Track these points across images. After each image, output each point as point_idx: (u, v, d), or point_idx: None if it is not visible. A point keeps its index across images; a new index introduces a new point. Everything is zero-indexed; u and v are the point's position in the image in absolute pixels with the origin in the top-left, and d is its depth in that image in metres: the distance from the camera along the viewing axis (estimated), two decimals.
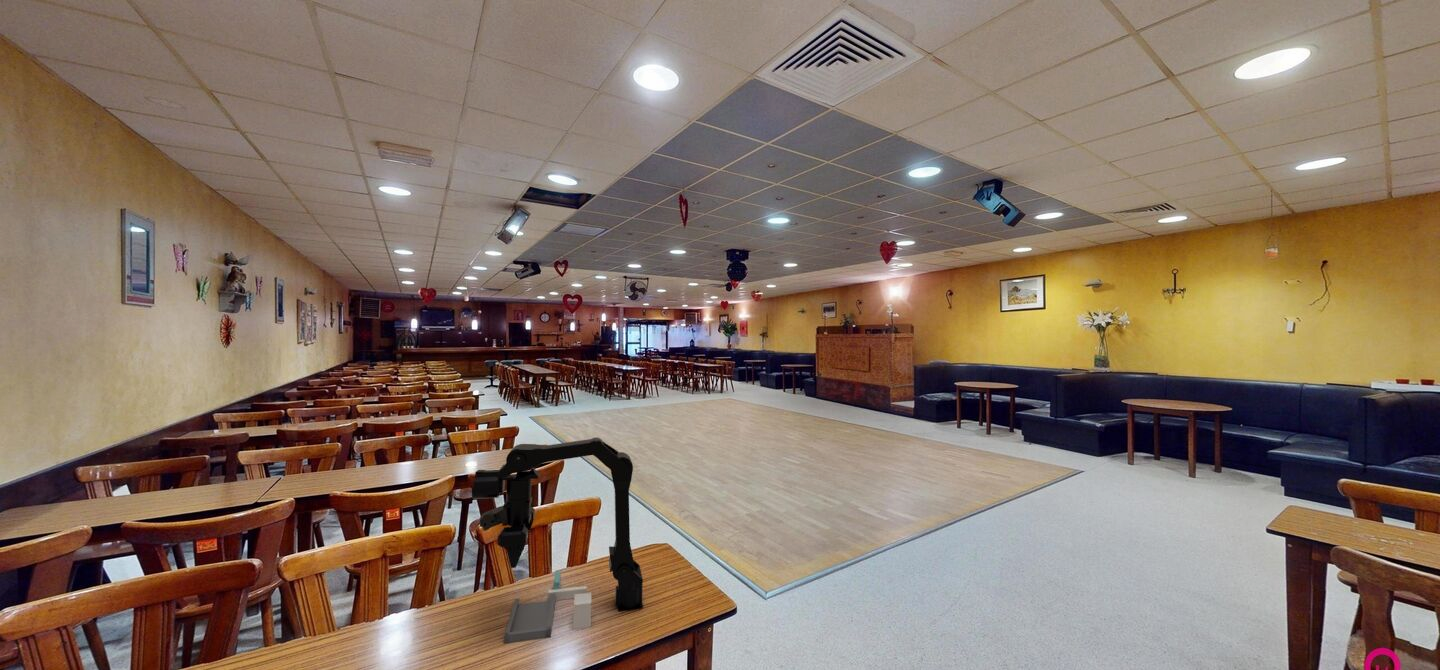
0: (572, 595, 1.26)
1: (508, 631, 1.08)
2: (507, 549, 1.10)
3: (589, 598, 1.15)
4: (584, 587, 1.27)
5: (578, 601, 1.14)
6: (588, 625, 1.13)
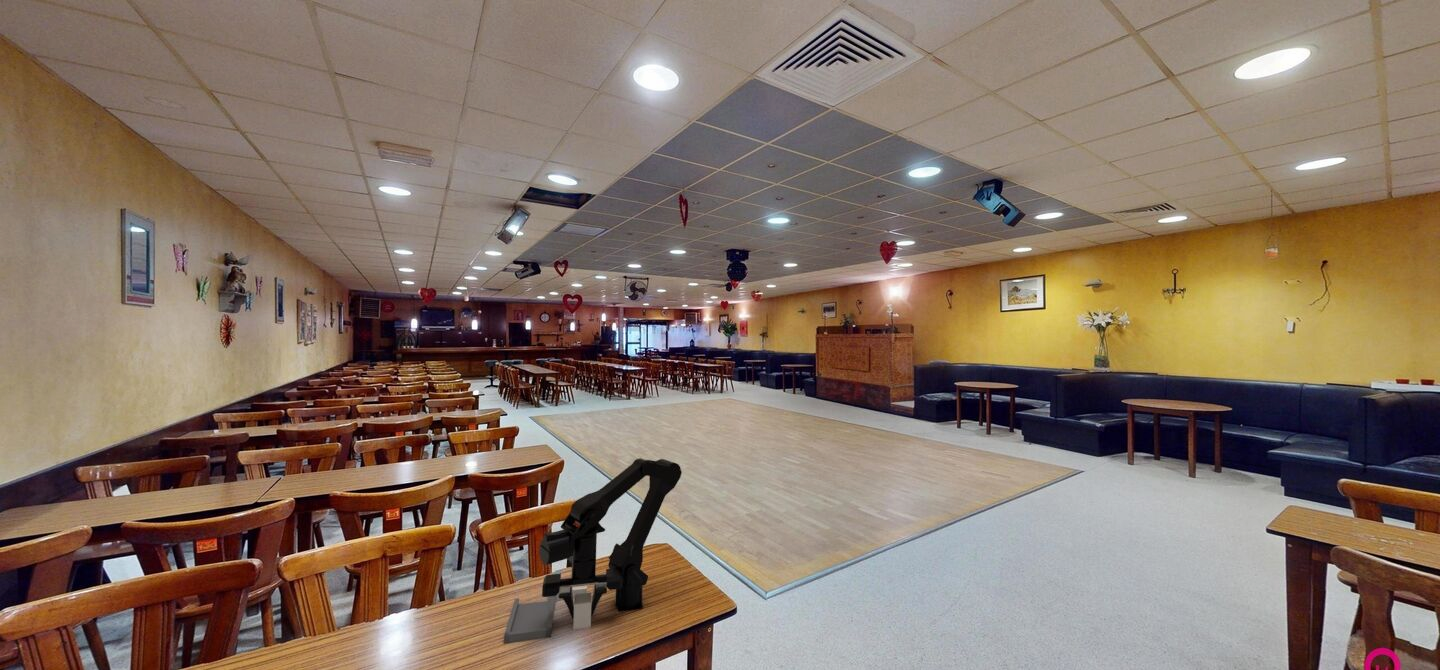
0: None
1: (508, 631, 1.08)
2: None
3: (589, 598, 1.15)
4: (584, 587, 1.27)
5: (578, 601, 1.14)
6: (588, 625, 1.13)
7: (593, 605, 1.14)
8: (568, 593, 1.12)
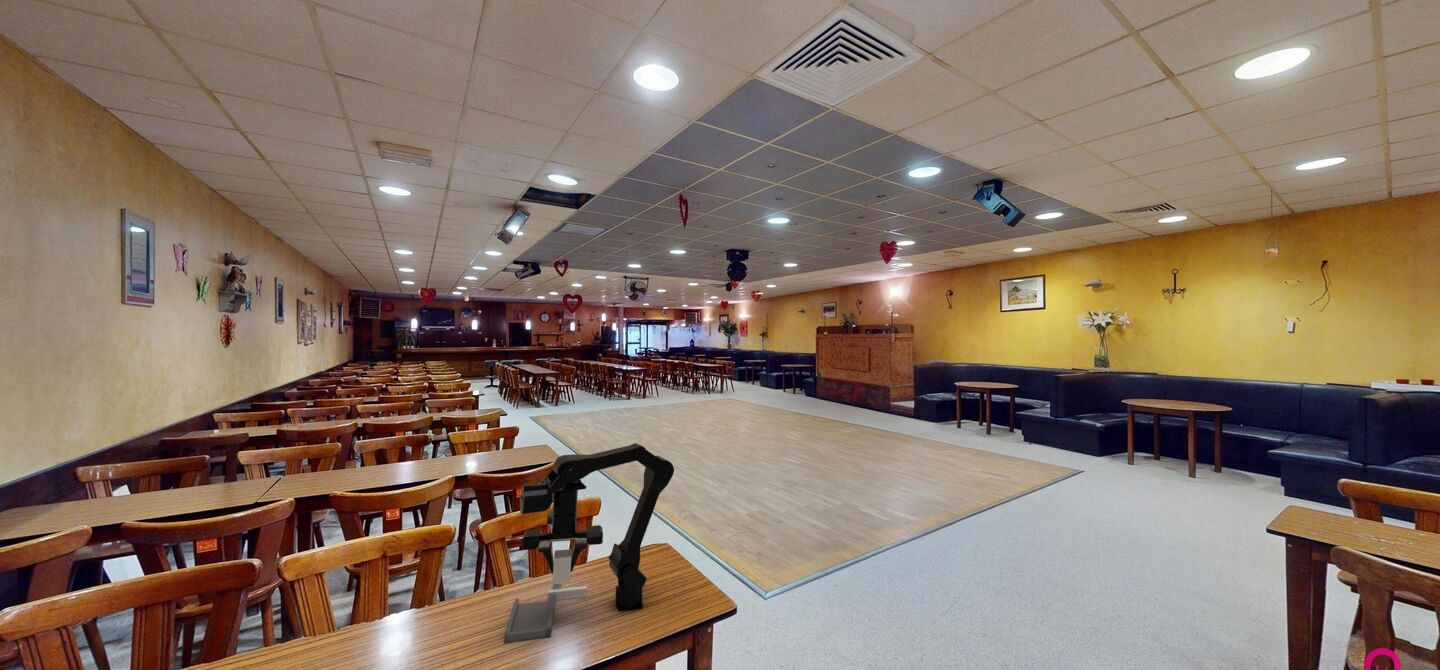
0: (572, 595, 1.26)
1: (508, 631, 1.08)
2: None
3: (569, 553, 1.15)
4: (584, 587, 1.27)
5: (557, 556, 1.14)
6: (568, 579, 1.13)
7: (573, 560, 1.14)
8: (548, 547, 1.12)
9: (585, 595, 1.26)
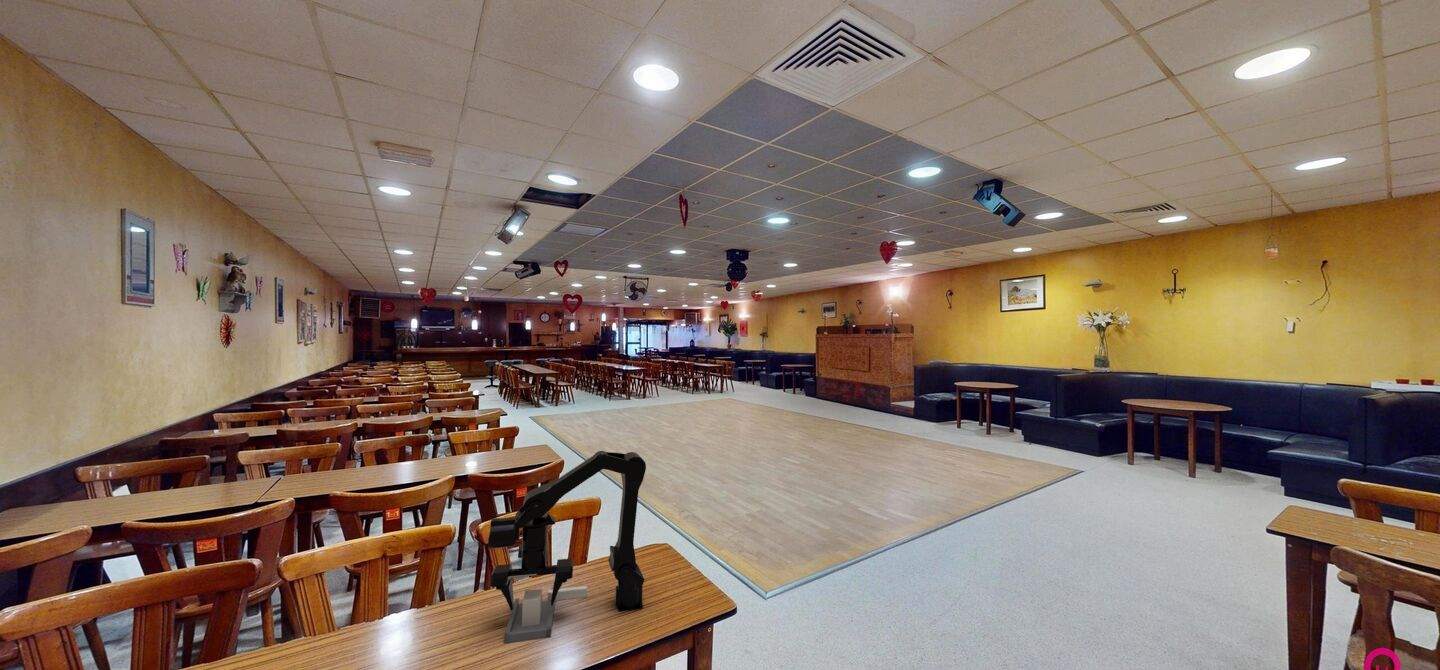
0: (572, 595, 1.26)
1: (508, 631, 1.08)
2: None
3: (539, 594, 1.15)
4: (584, 587, 1.27)
5: (527, 597, 1.14)
6: (537, 621, 1.13)
7: (553, 594, 1.15)
8: (506, 584, 1.12)
9: (585, 595, 1.26)
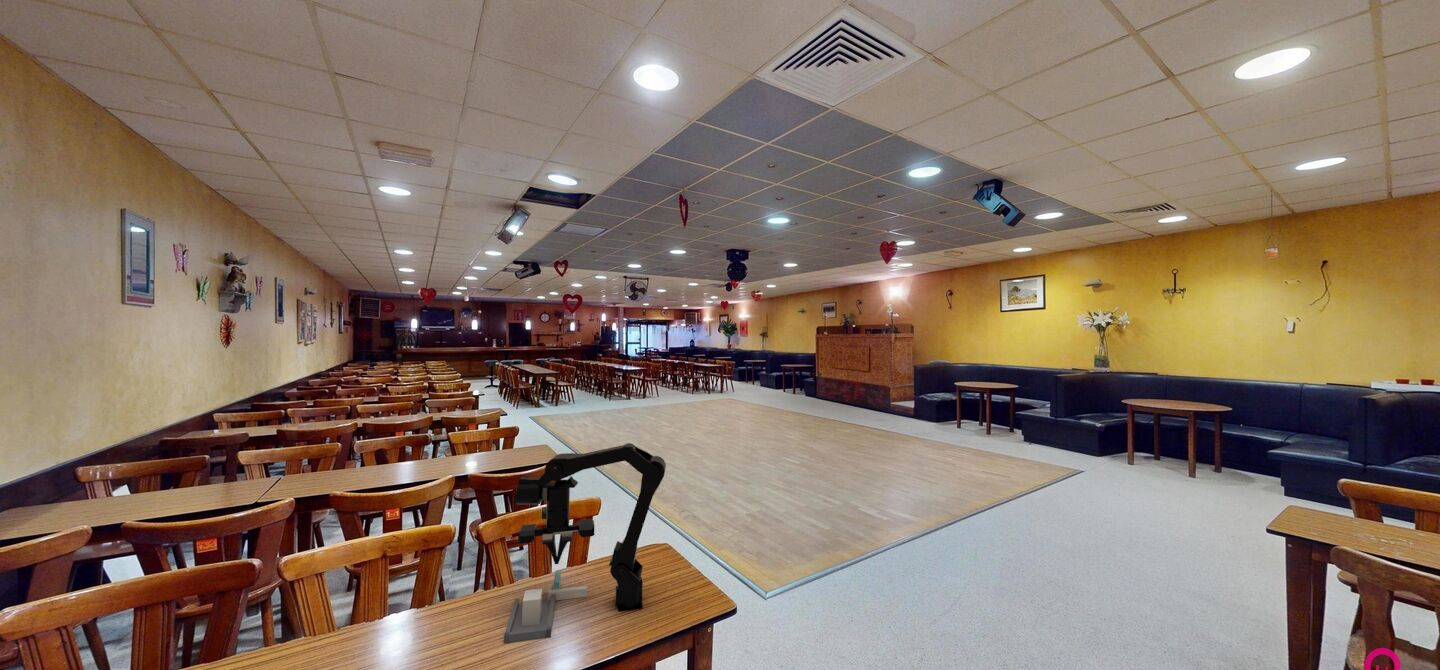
0: (572, 595, 1.26)
1: (508, 631, 1.08)
2: None
3: (539, 594, 1.15)
4: (584, 587, 1.27)
5: (527, 597, 1.14)
6: (537, 621, 1.13)
7: (559, 553, 1.21)
8: (551, 539, 1.21)
9: (585, 595, 1.26)
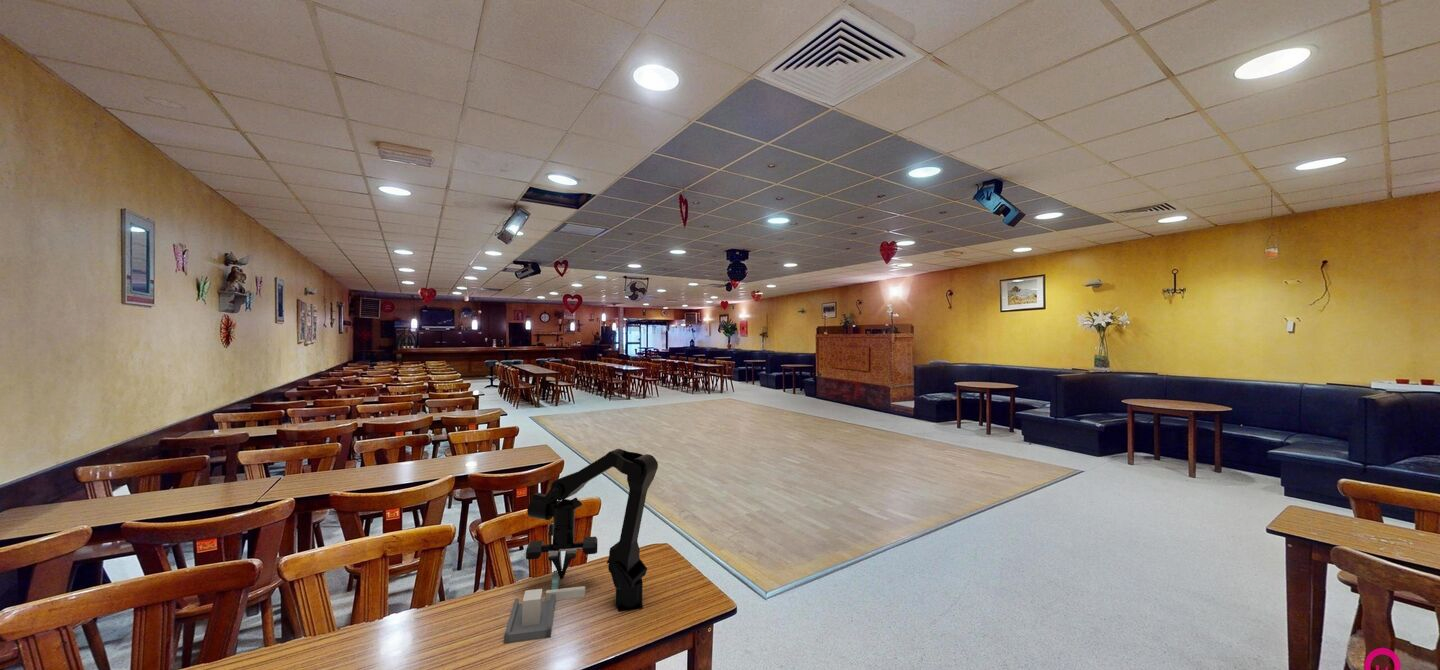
0: (570, 595, 1.25)
1: (508, 631, 1.08)
2: None
3: (539, 594, 1.15)
4: (582, 587, 1.27)
5: (527, 597, 1.14)
6: (537, 621, 1.13)
7: (563, 569, 1.29)
8: (556, 556, 1.28)
9: (583, 595, 1.26)
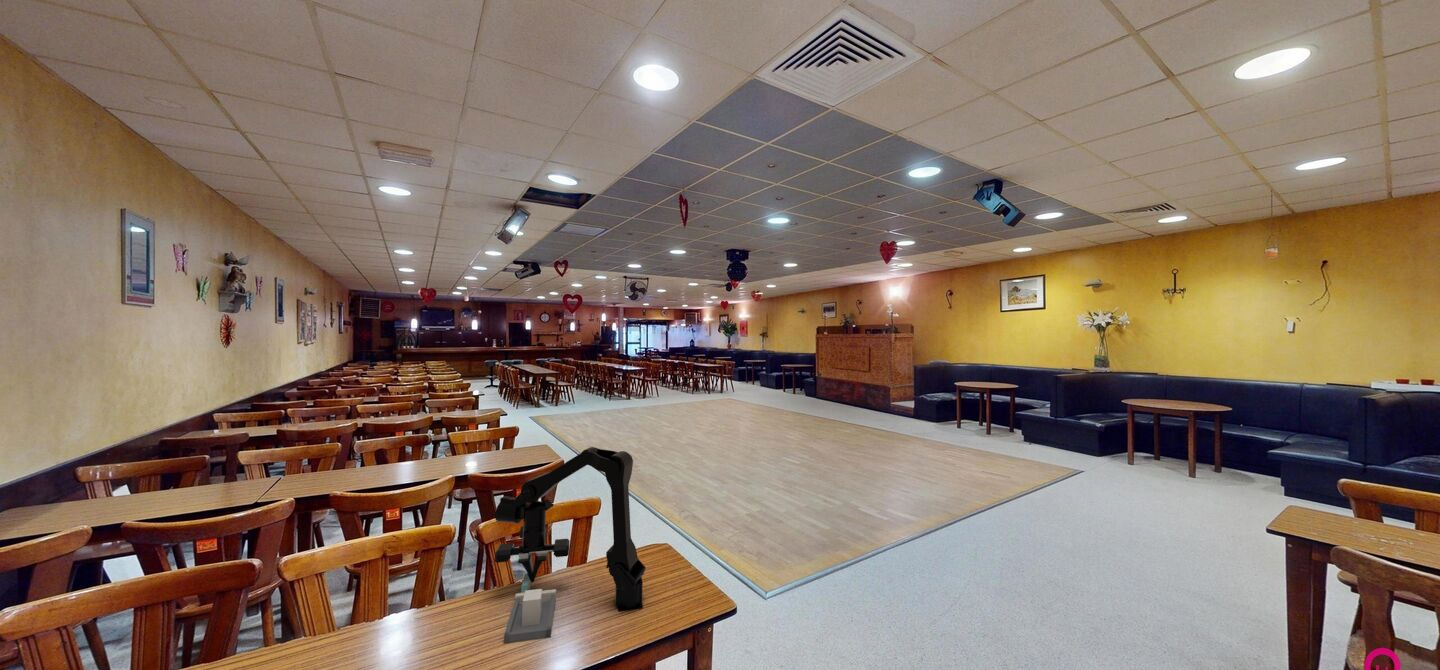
0: None
1: (508, 631, 1.08)
2: None
3: (539, 594, 1.15)
4: (553, 590, 1.25)
5: (527, 597, 1.14)
6: (537, 621, 1.13)
7: (534, 571, 1.27)
8: (527, 559, 1.26)
9: None
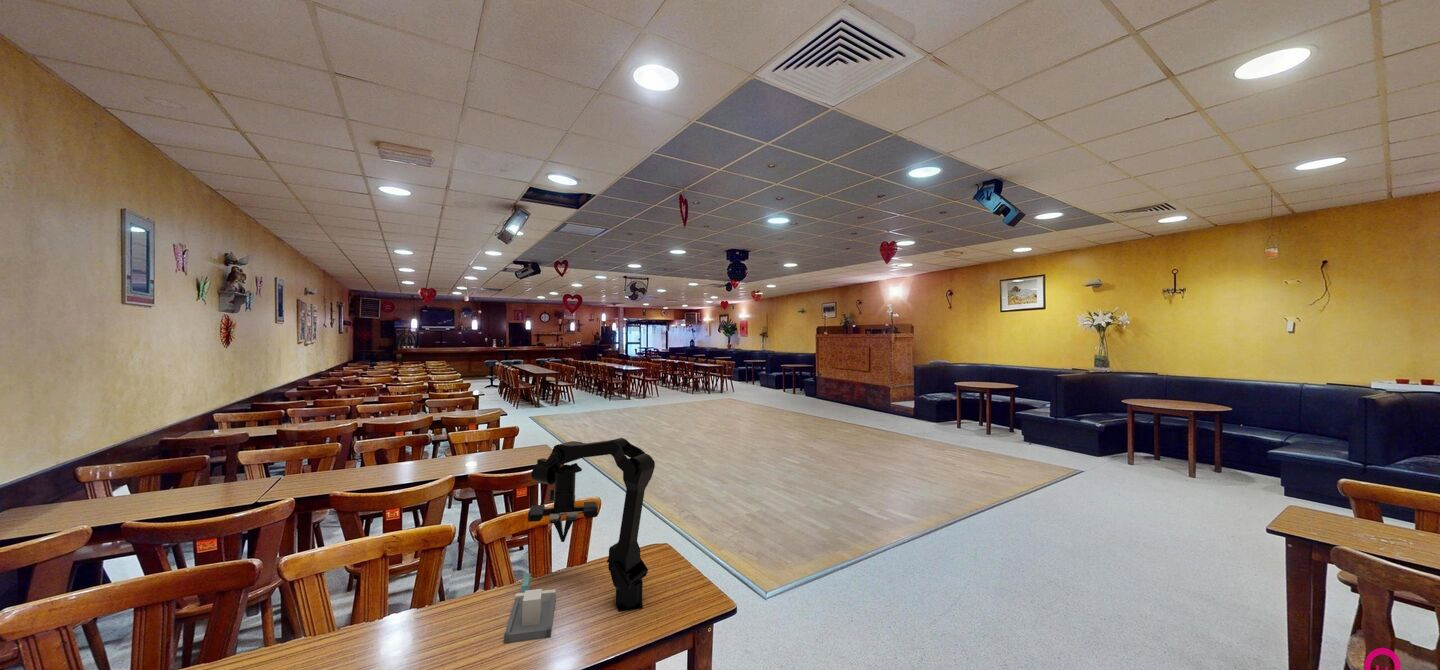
0: None
1: (508, 631, 1.08)
2: None
3: (539, 594, 1.15)
4: (553, 590, 1.25)
5: (527, 597, 1.14)
6: (537, 621, 1.13)
7: (565, 531, 1.32)
8: (558, 519, 1.32)
9: None
